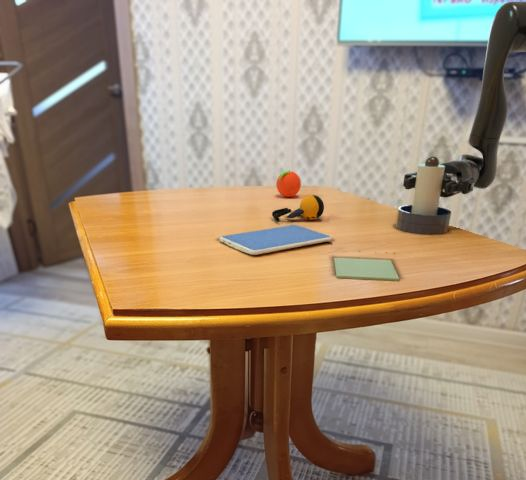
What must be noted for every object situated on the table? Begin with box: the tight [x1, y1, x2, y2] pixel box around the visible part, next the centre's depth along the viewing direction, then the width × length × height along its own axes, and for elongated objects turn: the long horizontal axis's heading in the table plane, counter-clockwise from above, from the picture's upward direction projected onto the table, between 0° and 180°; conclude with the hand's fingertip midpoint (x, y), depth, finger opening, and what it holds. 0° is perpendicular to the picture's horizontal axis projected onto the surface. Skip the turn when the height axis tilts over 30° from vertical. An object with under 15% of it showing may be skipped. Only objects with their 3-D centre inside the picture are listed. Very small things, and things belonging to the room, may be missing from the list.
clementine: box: [275, 170, 302, 198], centre depth 142 cm, size 8×7×7 cm
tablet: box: [219, 224, 333, 256], centre depth 100 cm, size 19×13×1 cm, turn 125°
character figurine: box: [271, 194, 325, 222], centre depth 119 cm, size 10×6×12 cm
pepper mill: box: [411, 155, 445, 215], centre depth 108 cm, size 5×5×15 cm
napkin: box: [333, 257, 400, 282], centre depth 86 cm, size 10×10×1 cm
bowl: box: [395, 204, 452, 235], centre depth 111 cm, size 11×11×4 cm
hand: (426, 186), depth 106 cm, fingers open, 8 cm apart
